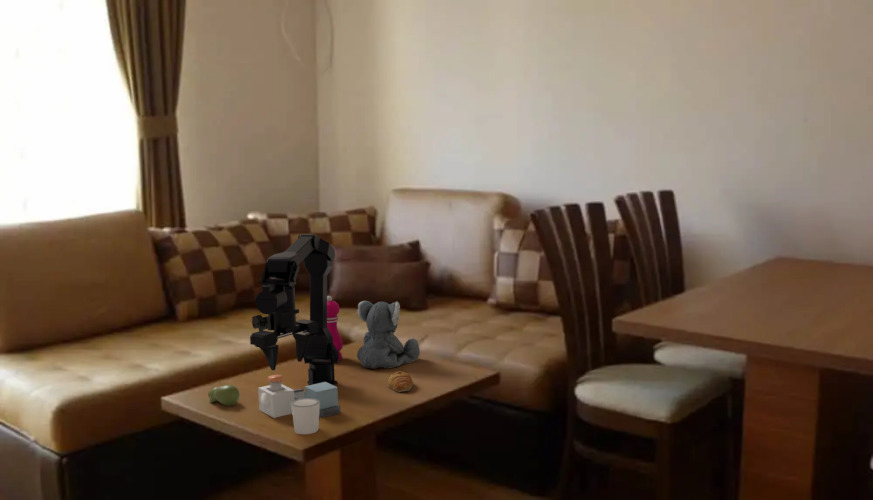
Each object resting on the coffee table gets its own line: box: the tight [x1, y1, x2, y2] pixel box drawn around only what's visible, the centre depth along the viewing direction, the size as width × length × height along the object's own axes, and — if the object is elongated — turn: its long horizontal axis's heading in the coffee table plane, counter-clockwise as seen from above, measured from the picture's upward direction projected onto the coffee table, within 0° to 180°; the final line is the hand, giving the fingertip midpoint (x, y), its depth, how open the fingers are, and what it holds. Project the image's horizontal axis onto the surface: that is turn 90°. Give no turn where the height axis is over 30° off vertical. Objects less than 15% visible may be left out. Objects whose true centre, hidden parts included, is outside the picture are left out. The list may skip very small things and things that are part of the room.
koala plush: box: [356, 300, 420, 370], centre depth 270 cm, size 17×18×20 cm
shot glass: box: [291, 398, 320, 435], centre depth 215 cm, size 7×7×7 cm
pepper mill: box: [327, 295, 344, 362], centre depth 275 cm, size 7×7×20 cm
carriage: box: [304, 382, 339, 417], centre depth 228 cm, size 6×6×6 cm
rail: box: [293, 388, 341, 419], centre depth 233 cm, size 5×20×2 cm, turn 38°
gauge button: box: [267, 374, 283, 392], centre depth 228 cm, size 4×4×6 cm
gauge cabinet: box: [257, 383, 295, 419], centre depth 228 cm, size 6×8×6 cm
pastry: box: [387, 371, 414, 393], centre depth 246 cm, size 9×7×4 cm
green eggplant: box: [208, 384, 241, 407], centre depth 237 cm, size 6×5×10 cm
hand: (286, 365), depth 227 cm, fingers open, 9 cm apart
